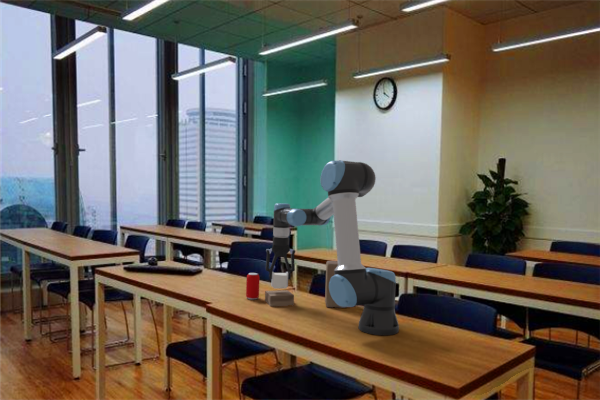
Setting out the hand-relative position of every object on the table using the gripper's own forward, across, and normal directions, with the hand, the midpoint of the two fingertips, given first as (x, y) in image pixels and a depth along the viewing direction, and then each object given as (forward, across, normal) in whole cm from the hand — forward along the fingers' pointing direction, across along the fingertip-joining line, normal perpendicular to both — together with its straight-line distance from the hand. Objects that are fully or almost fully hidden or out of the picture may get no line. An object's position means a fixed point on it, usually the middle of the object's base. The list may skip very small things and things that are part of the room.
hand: (279, 286), depth 212 cm
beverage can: (+8, +12, -9) cm, 17 cm away
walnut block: (+8, 0, 0) cm, 8 cm away
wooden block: (+8, -26, +5) cm, 28 cm away
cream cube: (0, 0, 0) cm, 0 cm away
